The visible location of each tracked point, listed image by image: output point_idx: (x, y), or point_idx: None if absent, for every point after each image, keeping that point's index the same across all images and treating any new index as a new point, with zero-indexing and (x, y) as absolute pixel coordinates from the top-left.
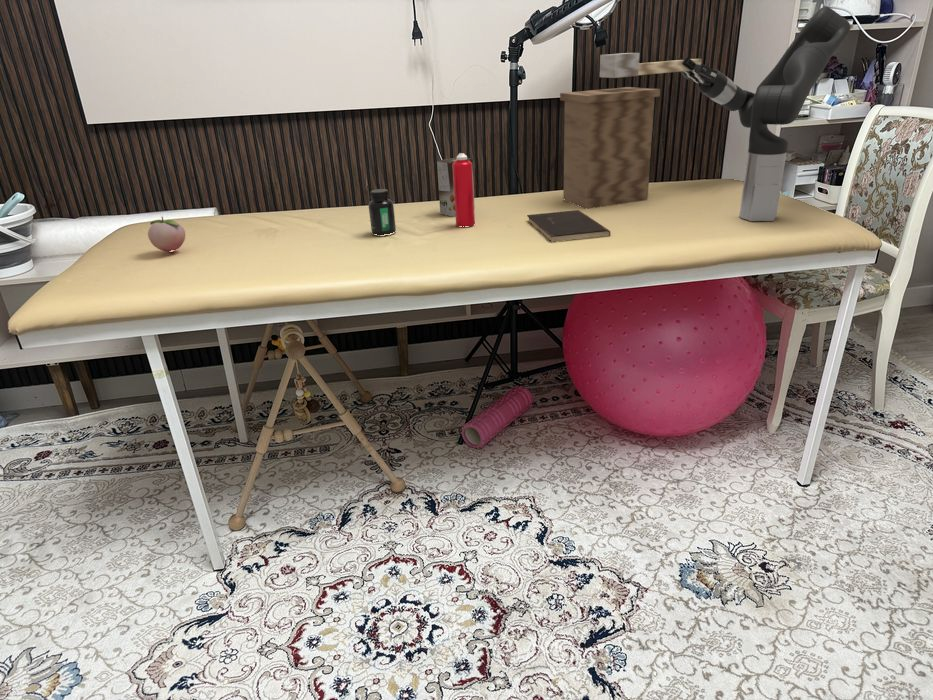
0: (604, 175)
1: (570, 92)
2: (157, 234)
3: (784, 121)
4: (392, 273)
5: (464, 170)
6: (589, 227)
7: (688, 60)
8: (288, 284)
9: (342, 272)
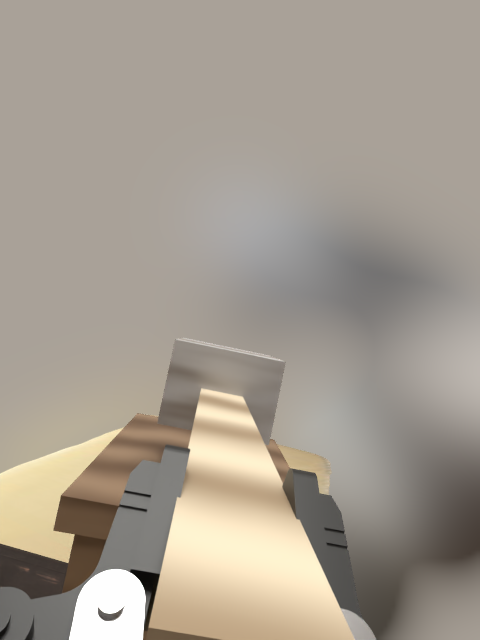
0: None
1: (271, 445)
2: None
3: None
4: (52, 462)
5: None
6: None
7: (137, 472)
8: (94, 442)
9: (89, 455)
